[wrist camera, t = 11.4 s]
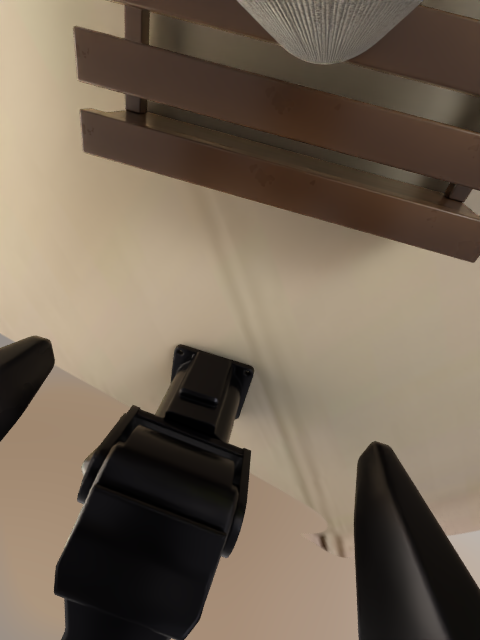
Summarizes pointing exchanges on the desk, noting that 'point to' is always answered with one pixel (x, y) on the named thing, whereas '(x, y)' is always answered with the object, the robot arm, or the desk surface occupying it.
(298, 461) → the desk surface
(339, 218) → the rack
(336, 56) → the grey hollow cylinder
